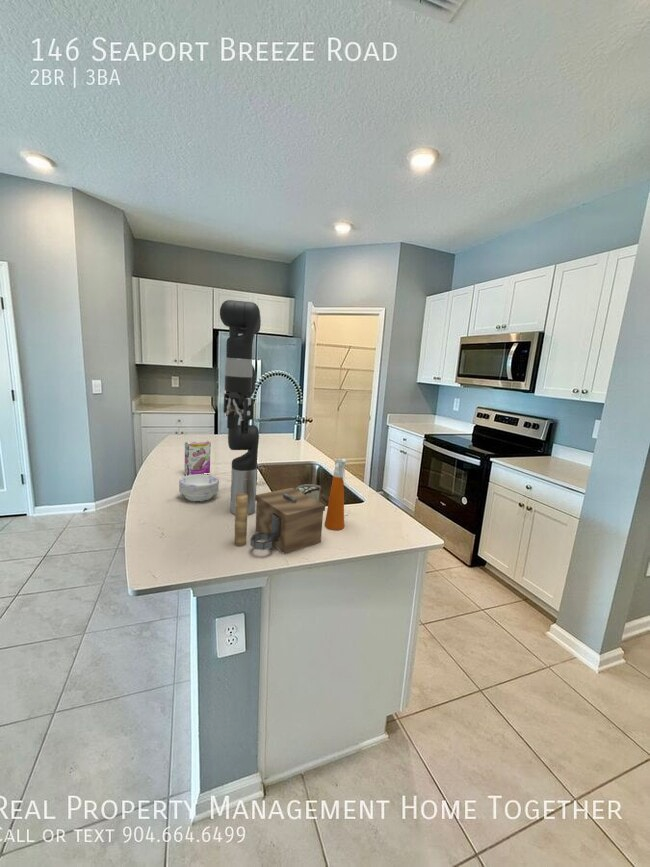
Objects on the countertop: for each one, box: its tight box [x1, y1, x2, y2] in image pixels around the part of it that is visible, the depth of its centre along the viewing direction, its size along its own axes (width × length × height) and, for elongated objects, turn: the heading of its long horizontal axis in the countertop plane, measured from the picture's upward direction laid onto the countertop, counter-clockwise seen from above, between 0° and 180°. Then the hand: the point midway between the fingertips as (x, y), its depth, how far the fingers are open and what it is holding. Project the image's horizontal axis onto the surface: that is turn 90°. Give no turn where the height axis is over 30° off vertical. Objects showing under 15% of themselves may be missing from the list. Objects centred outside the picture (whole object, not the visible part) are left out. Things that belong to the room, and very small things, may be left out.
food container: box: [295, 483, 322, 502], centre depth 138 cm, size 12×6×10 cm, turn 141°
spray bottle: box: [324, 458, 348, 531], centre depth 124 cm, size 7×11×26 cm, turn 16°
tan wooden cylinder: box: [234, 493, 248, 547], centre depth 110 cm, size 4×4×16 cm
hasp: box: [249, 514, 281, 551], centre depth 107 cm, size 7×8×8 cm
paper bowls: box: [178, 474, 220, 502], centre depth 145 cm, size 15×15×8 cm
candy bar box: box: [184, 440, 212, 476], centre depth 172 cm, size 11×5×16 cm, turn 130°
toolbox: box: [255, 487, 326, 555], centre depth 117 cm, size 19×15×14 cm
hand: (237, 431), depth 103 cm, fingers open, 8 cm apart
